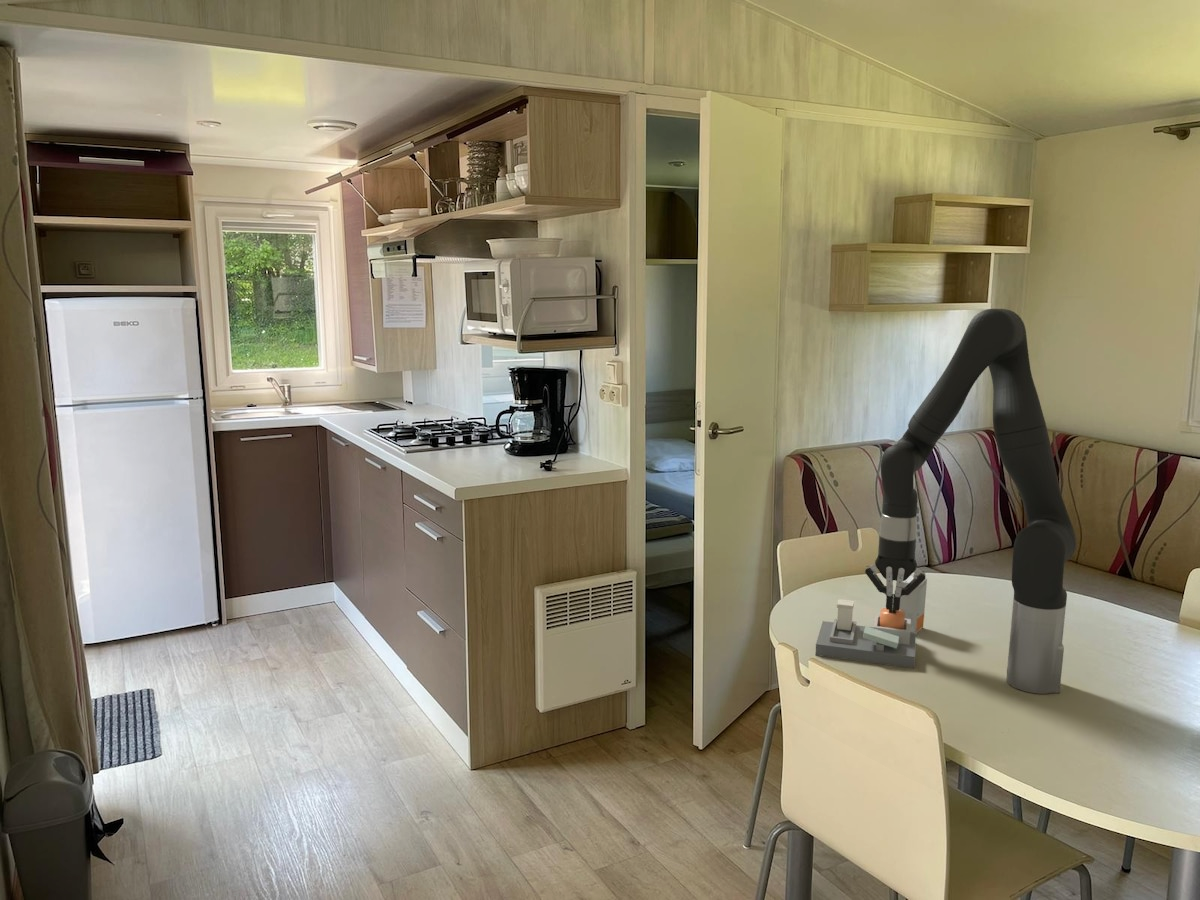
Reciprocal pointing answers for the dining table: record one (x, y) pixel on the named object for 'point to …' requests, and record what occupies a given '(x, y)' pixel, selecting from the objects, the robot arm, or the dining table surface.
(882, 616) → the orange piece
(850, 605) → the lever
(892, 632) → the panel
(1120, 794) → the dining table surface
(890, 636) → the block
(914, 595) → the skincare box
